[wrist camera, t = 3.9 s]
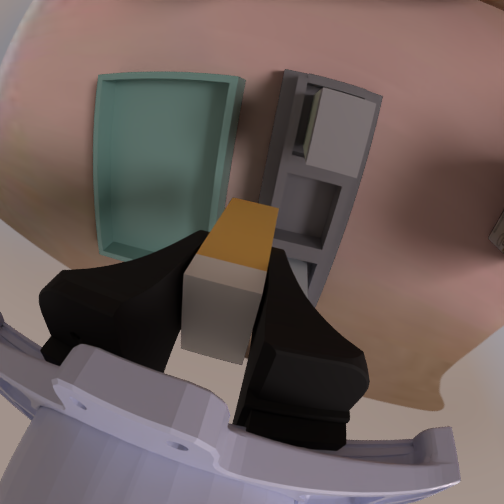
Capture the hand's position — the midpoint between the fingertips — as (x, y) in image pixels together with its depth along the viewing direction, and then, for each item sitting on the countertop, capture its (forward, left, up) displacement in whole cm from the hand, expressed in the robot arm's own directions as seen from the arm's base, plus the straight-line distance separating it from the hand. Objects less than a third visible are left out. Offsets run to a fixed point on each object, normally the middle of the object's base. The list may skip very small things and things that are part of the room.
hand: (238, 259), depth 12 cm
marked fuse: (0, 0, -3) cm, 3 cm away
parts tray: (0, +8, -10) cm, 13 cm away
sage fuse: (+6, -3, -9) cm, 11 cm away
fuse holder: (0, -3, -10) cm, 11 cm away
